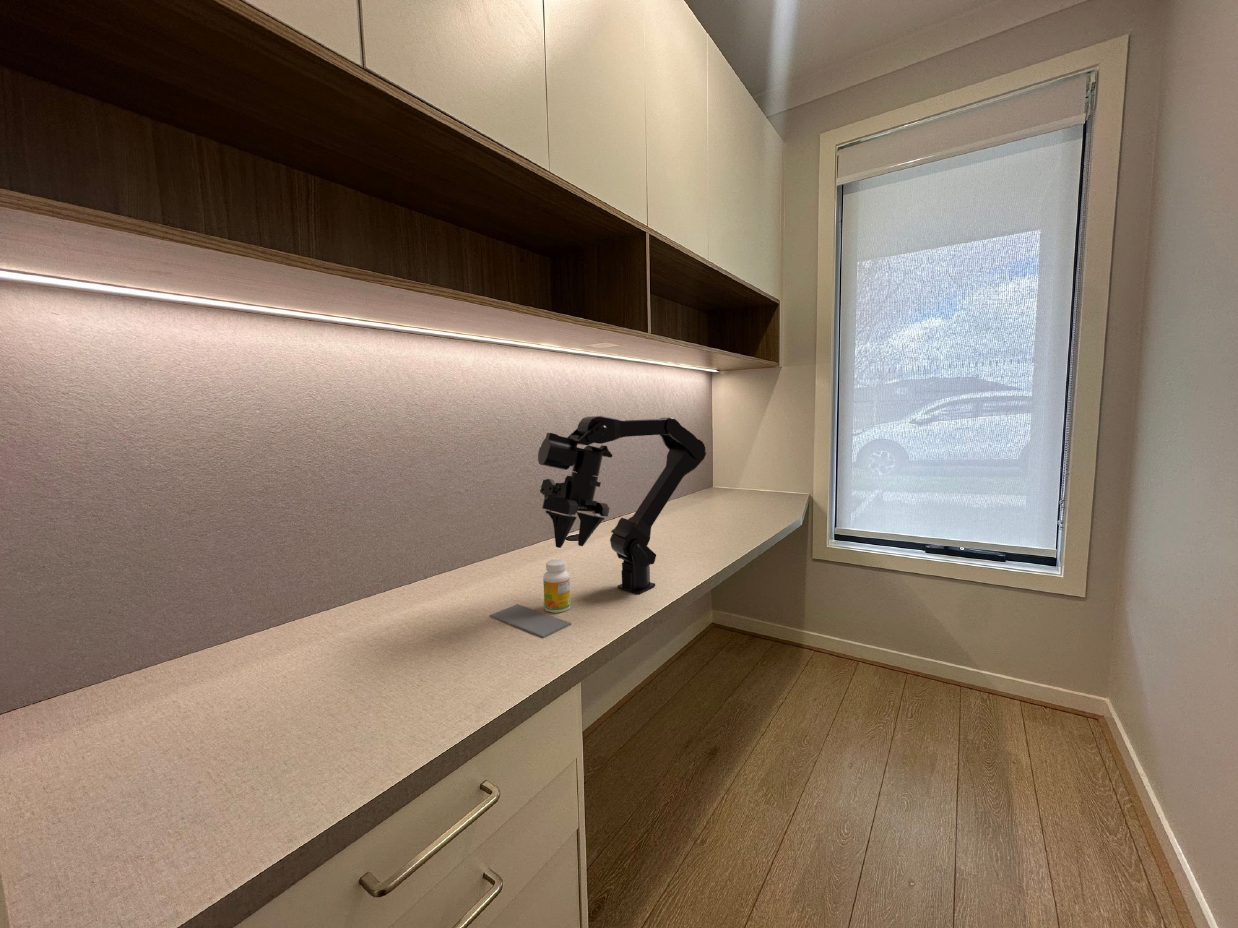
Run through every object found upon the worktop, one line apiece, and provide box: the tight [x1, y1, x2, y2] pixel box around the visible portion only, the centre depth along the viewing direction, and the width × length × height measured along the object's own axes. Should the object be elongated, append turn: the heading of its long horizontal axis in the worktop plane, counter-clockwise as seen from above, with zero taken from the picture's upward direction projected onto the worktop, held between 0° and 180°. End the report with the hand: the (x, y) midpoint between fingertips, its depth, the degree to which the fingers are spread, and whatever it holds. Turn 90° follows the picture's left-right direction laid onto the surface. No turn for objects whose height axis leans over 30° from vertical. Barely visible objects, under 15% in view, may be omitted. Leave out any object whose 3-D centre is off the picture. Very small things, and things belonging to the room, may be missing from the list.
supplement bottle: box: [542, 559, 571, 614], centre depth 99 cm, size 5×5×10 cm
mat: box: [489, 603, 572, 639], centre depth 94 cm, size 7×16×1 cm, turn 51°
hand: (569, 546), depth 102 cm, fingers open, 9 cm apart
